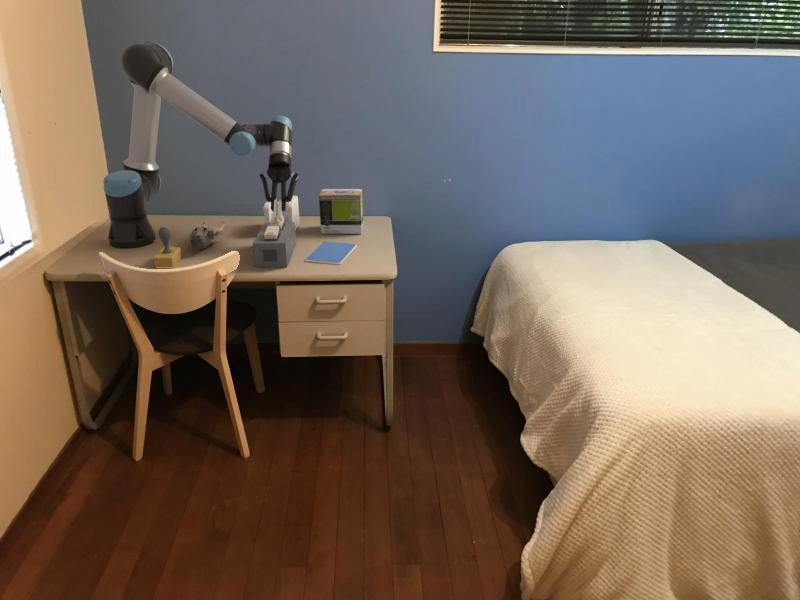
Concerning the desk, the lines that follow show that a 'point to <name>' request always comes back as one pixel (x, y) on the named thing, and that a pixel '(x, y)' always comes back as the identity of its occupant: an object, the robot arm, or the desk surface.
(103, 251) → the desk surface
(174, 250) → the rubber stamp
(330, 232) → the tea box
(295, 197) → the cable organizer
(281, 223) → the back rocker
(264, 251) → the rocker switch panel
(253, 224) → the desk surface
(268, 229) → the block
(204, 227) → the anime figure
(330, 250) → the blue flat rectangular pad
